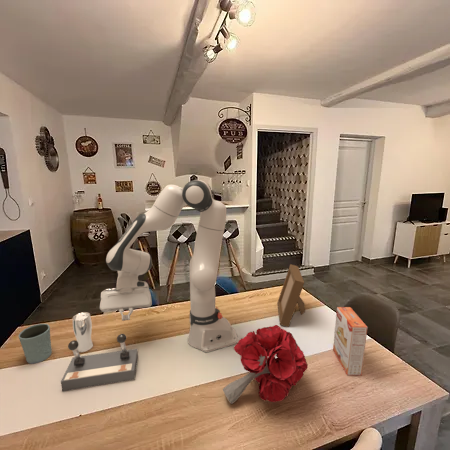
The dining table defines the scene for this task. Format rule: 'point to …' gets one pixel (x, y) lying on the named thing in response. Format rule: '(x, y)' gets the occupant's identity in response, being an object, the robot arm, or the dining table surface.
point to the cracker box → (349, 340)
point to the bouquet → (268, 364)
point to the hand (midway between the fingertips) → (125, 320)
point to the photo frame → (290, 296)
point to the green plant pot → (36, 343)
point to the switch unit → (100, 370)
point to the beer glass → (83, 331)
